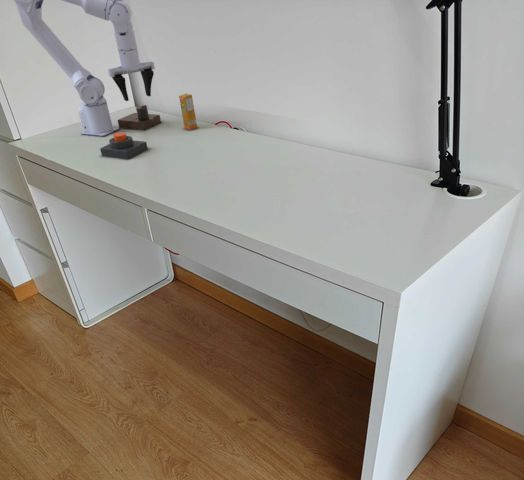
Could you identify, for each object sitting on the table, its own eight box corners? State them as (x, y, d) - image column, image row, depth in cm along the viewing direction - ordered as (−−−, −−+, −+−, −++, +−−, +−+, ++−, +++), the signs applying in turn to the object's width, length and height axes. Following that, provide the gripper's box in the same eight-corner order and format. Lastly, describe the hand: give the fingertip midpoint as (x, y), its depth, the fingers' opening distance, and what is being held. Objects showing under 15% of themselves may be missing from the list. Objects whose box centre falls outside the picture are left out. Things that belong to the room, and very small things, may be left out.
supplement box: (183, 128, 162) (178, 95, 156) (191, 126, 164) (186, 93, 157) (189, 130, 160) (184, 96, 154) (197, 128, 162) (193, 94, 155)
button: (112, 142, 144) (110, 135, 143) (120, 138, 146) (118, 132, 145) (121, 143, 142) (120, 136, 141) (129, 139, 145) (128, 132, 144)
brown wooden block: (118, 128, 168) (116, 119, 166) (135, 120, 174) (134, 112, 172) (147, 130, 163) (145, 122, 161) (164, 122, 169) (162, 114, 168)
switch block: (101, 156, 146) (98, 141, 143) (121, 146, 152) (118, 132, 149) (128, 159, 142) (125, 144, 139) (147, 149, 148) (144, 135, 145)
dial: (141, 120, 164) (139, 108, 161) (136, 118, 166) (133, 106, 163) (151, 118, 165) (148, 105, 163) (145, 116, 167) (143, 104, 165)
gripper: (144, 44, 157) (153, 91, 165) (100, 51, 151) (111, 100, 159) (153, 46, 152) (162, 95, 161) (108, 54, 146) (119, 104, 155)
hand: (137, 98), depth 160 cm, fingers open, 7 cm apart
